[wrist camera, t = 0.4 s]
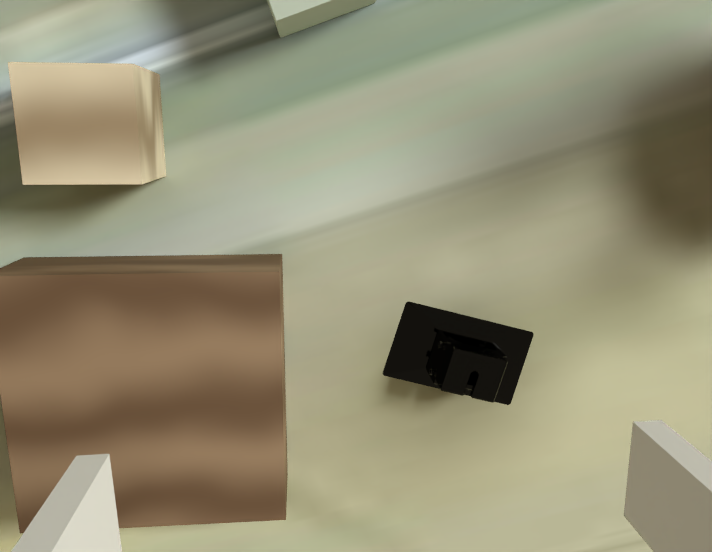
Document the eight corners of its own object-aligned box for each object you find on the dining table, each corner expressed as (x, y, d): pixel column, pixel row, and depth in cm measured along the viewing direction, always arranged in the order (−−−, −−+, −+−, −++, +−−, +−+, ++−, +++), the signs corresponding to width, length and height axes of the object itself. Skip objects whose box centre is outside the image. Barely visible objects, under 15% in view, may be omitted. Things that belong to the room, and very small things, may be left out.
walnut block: (23, 257, 38) (-17, 276, 33) (282, 254, 39) (279, 271, 35) (52, 486, 42) (19, 533, 37) (287, 475, 43) (285, 519, 38)
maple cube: (55, 73, 36) (7, 62, 30) (159, 74, 36) (132, 63, 31) (66, 176, 37) (22, 184, 31) (166, 176, 38) (142, 184, 32)
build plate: (357, 376, 42) (364, 405, 38) (387, 278, 41) (398, 296, 37) (521, 415, 44) (546, 446, 40) (555, 322, 43) (584, 344, 38)
